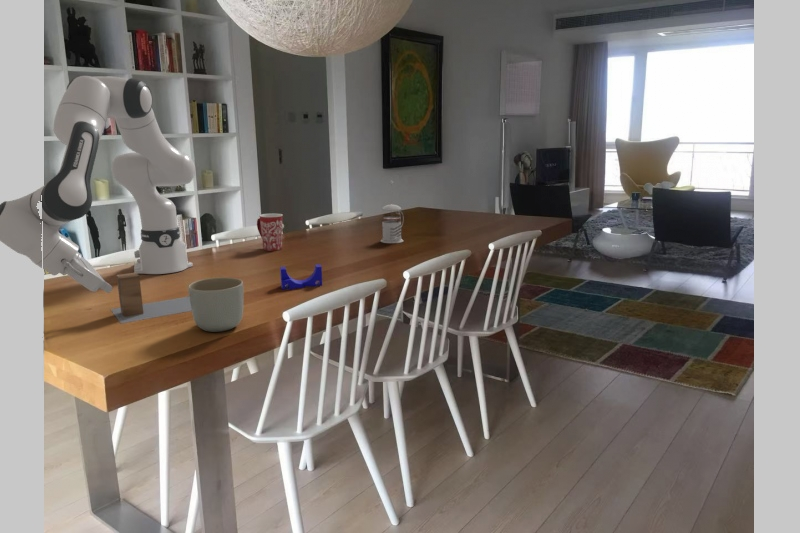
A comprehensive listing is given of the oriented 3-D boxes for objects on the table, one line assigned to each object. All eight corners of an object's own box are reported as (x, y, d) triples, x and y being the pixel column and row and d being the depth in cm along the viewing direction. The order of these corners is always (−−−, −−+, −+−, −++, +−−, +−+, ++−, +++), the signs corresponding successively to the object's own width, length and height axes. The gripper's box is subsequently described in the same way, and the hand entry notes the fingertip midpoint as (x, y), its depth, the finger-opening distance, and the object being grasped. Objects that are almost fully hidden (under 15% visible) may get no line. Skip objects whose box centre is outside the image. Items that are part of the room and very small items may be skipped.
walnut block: (121, 312, 151) (116, 275, 149) (139, 309, 154) (135, 272, 152) (124, 317, 148) (119, 278, 145) (143, 313, 150) (139, 275, 148)
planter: (248, 332, 137) (245, 287, 135) (192, 339, 133) (188, 293, 131) (243, 316, 149) (240, 275, 146) (191, 322, 145) (187, 279, 142)
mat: (110, 310, 154) (110, 309, 154) (195, 296, 167) (195, 295, 166) (120, 324, 143) (120, 323, 143) (210, 308, 155) (210, 307, 155)
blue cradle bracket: (282, 290, 173) (281, 270, 172) (281, 286, 177) (280, 267, 176) (323, 287, 176) (322, 267, 175) (320, 283, 180) (320, 264, 179)
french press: (375, 241, 244) (374, 180, 238) (393, 237, 253) (392, 178, 247) (393, 244, 238) (392, 182, 232) (411, 239, 247) (411, 180, 241)
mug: (289, 248, 231) (287, 214, 228) (270, 252, 224) (268, 217, 221) (269, 244, 239) (267, 211, 236) (251, 248, 232) (248, 214, 229)
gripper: (75, 253, 131) (127, 288, 139) (64, 239, 148) (111, 271, 156) (55, 275, 130) (108, 310, 138) (46, 259, 146) (95, 290, 154)
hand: (110, 289), depth 147 cm, fingers closed
